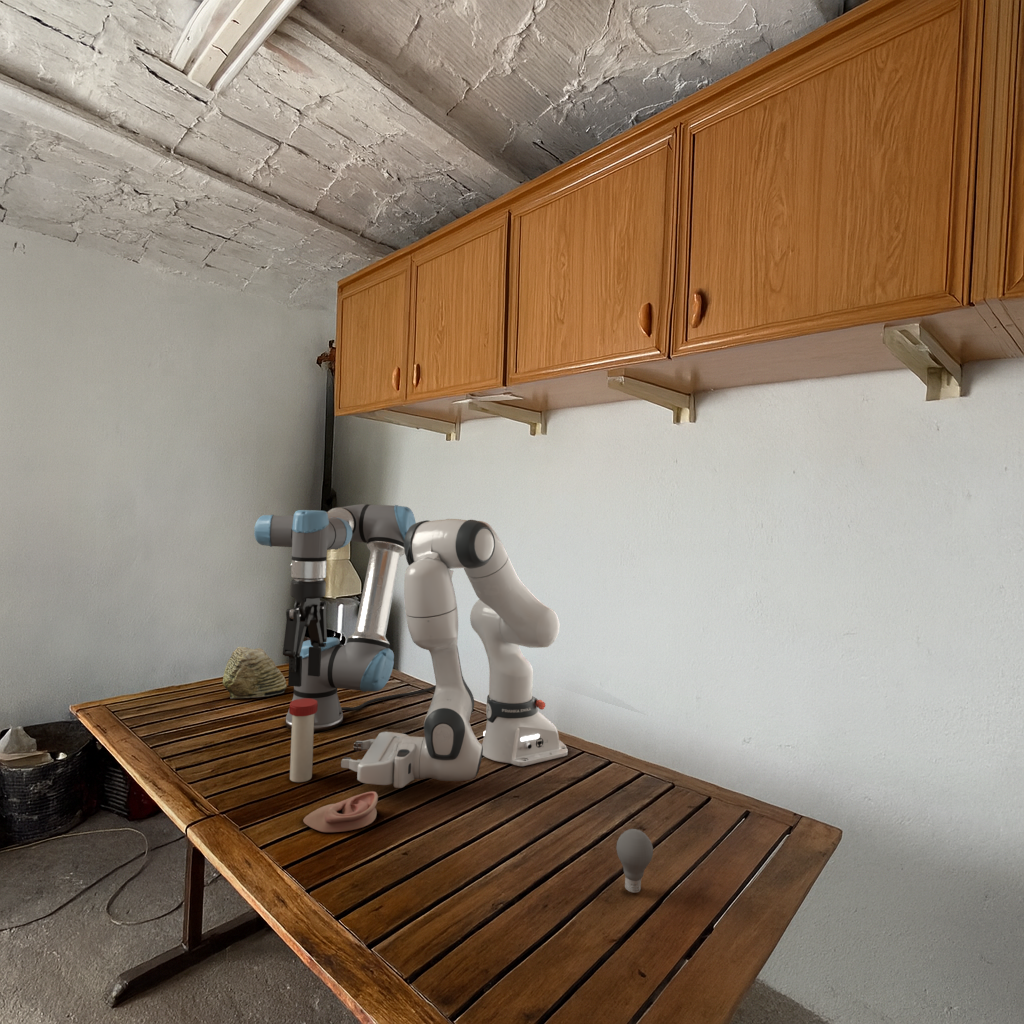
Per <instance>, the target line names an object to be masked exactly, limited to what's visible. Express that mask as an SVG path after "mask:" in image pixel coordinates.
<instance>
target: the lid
mask: <svg viewBox="0 0 1024 1024" xmlns="http://www.w3.org/2000/svg"><path fill="white" fill-rule="evenodd" d="M317 708H318V704H317V700H314V699H309V698H303V699H297V700H293V701H292V700H291V701H290V702H289V708H288V710H289V713H290V714H291V715H294V716H308V715H312V714H315V713H316V712H317Z"/></svg>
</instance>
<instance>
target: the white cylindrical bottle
mask: <svg viewBox="0 0 1024 1024" xmlns="http://www.w3.org/2000/svg"><path fill="white" fill-rule="evenodd" d="M290 730H291V733H290V756H289V757H290V759H289V780H290V781H291V782H293V783H305V782H308V781H310V780H311V779H312V778H313V766H314V765H313V763H314V741H315V740H314V737H315V732H314V714H312V715H308V716H294V715H292V729H290Z"/></svg>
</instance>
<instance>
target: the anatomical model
mask: <svg viewBox="0 0 1024 1024" xmlns="http://www.w3.org/2000/svg"><path fill="white" fill-rule="evenodd" d="M378 801H379V795H378V793H377V791H366V792H363V793H360V794H359V793H358V794H356V795H353V796H351V797H349V798H346V799H344V800H341V801H339V802H336V803H330V804H326V805H323V806H321V807H318V808H317V809H315V810H313V811H311V812H310V813H309V814H307V815H306V816H305V817H304V818H303V820H302V822H303V823H304V824H305V825H306V826H308V827H309V828H311V829H312V830H315V831H318V832H321V833H340V832H348V831H353V830H354V831H355V830H358V829H361V828H364V827H366V826H369V825H371V824H372V823H374V821H375V820H376V818H377V814H378V812H377V808H376V807H377V805H378Z"/></svg>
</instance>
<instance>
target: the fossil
mask: <svg viewBox="0 0 1024 1024" xmlns="http://www.w3.org/2000/svg"><path fill="white" fill-rule="evenodd" d="M222 676H223V677H222V685H223V687H224V688H225V690H226V691H228V693H229V698H230V699H250V698H264V697H271V696H275V695H281V694H284V693H285V691H286V689H287V687H288V684H287V680H286V678H285V676H284V674H283V673H282V672H281V669H279V668H278V667H277V665H276V663H275V662H274V660H273V659H272V658H271V657H270V656H269V655H268V654H267V653H266V652H265V650H264V649H263V648H260V647H258V648H251V647H247V646H246V647H245V646H238V647H237V648H236V649H235V650H233V651H232V653H231V656H230V657H229V659H228V660H227V663H226V666H225V668H224V671H223V675H222Z"/></svg>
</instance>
